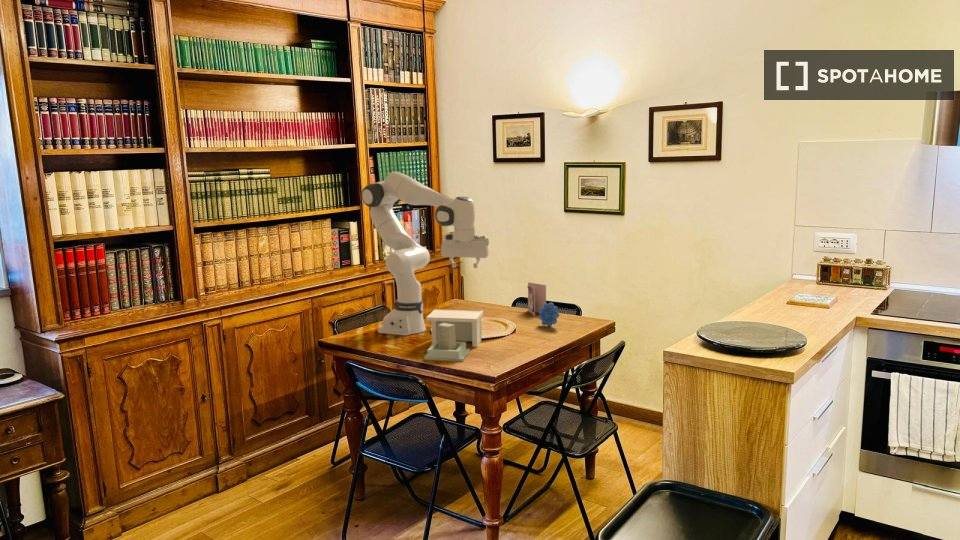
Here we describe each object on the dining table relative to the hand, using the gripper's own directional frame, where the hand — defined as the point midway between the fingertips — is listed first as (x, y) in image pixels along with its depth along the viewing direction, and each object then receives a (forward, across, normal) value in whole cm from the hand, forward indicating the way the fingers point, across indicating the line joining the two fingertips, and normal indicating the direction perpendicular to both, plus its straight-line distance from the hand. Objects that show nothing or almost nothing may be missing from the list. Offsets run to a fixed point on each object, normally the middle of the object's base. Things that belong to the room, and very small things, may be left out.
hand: (464, 267), depth 293 cm
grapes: (+34, -34, -33) cm, 58 cm away
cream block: (+34, +4, +2) cm, 34 cm away
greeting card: (+34, -24, -58) cm, 71 cm away
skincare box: (+33, +4, +18) cm, 38 cm away
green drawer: (+34, +4, +18) cm, 38 cm away
